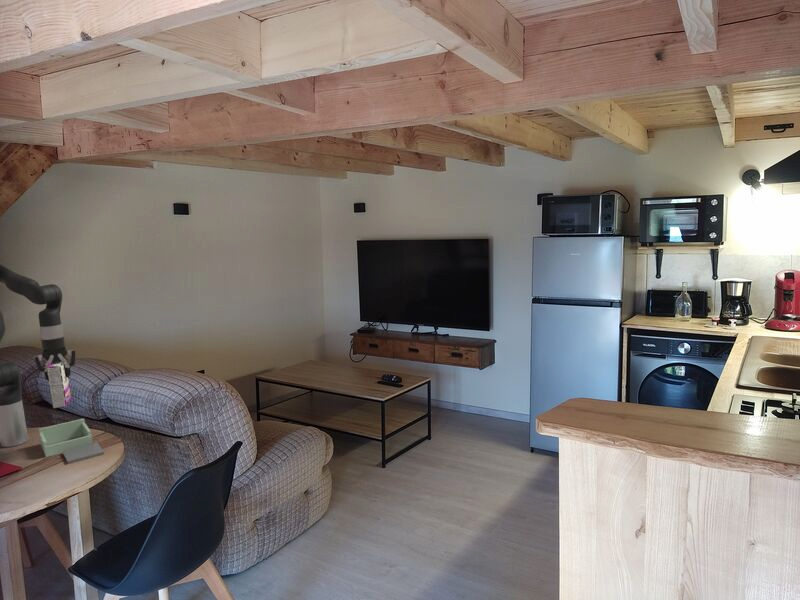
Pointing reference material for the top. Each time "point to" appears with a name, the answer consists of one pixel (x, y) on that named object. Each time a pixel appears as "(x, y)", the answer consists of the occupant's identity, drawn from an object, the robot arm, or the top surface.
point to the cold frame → (64, 437)
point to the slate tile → (83, 453)
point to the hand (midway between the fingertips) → (58, 378)
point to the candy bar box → (58, 385)
